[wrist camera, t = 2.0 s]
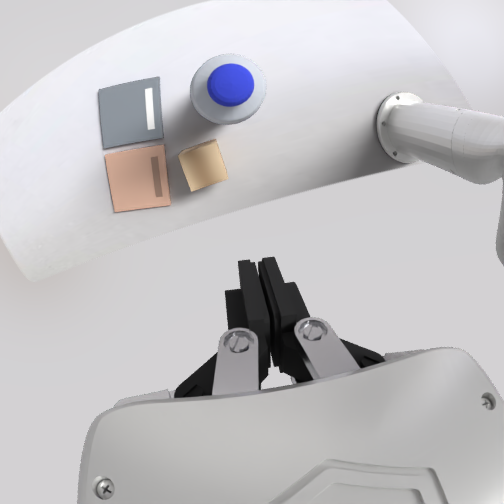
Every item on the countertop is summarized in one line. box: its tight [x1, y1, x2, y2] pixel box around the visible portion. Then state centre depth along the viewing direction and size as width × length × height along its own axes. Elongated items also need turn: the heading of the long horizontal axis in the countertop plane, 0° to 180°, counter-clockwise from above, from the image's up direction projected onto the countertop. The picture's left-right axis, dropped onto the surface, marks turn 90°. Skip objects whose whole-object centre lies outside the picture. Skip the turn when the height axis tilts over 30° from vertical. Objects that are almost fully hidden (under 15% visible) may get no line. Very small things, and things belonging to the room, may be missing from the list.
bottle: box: [190, 54, 266, 125], centre depth 25 cm, size 7×7×20 cm
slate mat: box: [99, 77, 164, 148], centre depth 32 cm, size 9×9×1 cm
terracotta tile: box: [105, 145, 171, 212], centre depth 37 cm, size 9×9×1 cm
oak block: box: [178, 139, 228, 192], centre depth 35 cm, size 5×5×5 cm
